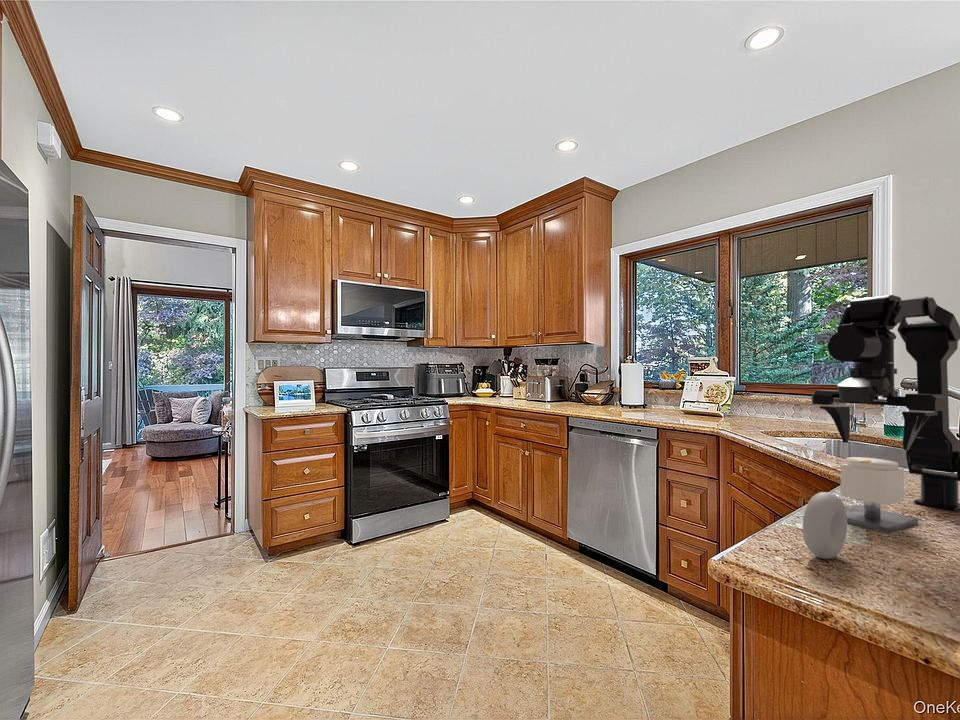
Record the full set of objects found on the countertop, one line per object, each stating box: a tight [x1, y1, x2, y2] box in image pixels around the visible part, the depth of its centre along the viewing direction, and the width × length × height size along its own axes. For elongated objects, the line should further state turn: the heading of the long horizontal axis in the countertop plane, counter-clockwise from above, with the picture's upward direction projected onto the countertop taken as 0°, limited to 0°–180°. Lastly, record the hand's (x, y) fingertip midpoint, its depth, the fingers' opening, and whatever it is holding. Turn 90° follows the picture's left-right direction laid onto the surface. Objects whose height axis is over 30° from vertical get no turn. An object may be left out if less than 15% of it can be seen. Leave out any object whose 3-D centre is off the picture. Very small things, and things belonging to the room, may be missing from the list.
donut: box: [802, 491, 848, 560], centre depth 70 cm, size 10×3×10 cm, turn 124°
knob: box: [840, 456, 905, 506], centre depth 87 cm, size 8×8×7 cm
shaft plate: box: [845, 500, 919, 534], centre depth 87 cm, size 12×10×7 cm
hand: (874, 446), depth 85 cm, fingers open, 9 cm apart
